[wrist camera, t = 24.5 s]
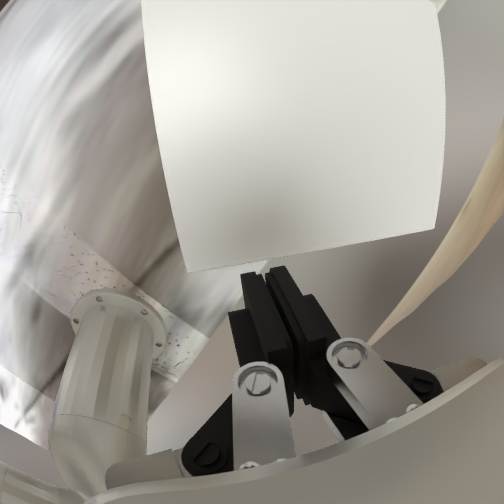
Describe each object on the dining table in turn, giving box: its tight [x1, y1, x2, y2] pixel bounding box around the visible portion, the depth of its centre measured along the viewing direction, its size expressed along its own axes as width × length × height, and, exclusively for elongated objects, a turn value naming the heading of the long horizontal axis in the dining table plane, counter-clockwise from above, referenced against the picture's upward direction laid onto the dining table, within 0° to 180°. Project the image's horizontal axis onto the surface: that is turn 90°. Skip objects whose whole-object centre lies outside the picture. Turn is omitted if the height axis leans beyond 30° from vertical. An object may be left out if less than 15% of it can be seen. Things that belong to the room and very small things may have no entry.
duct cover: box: [141, 0, 445, 273], centre depth 17 cm, size 21×22×1 cm
